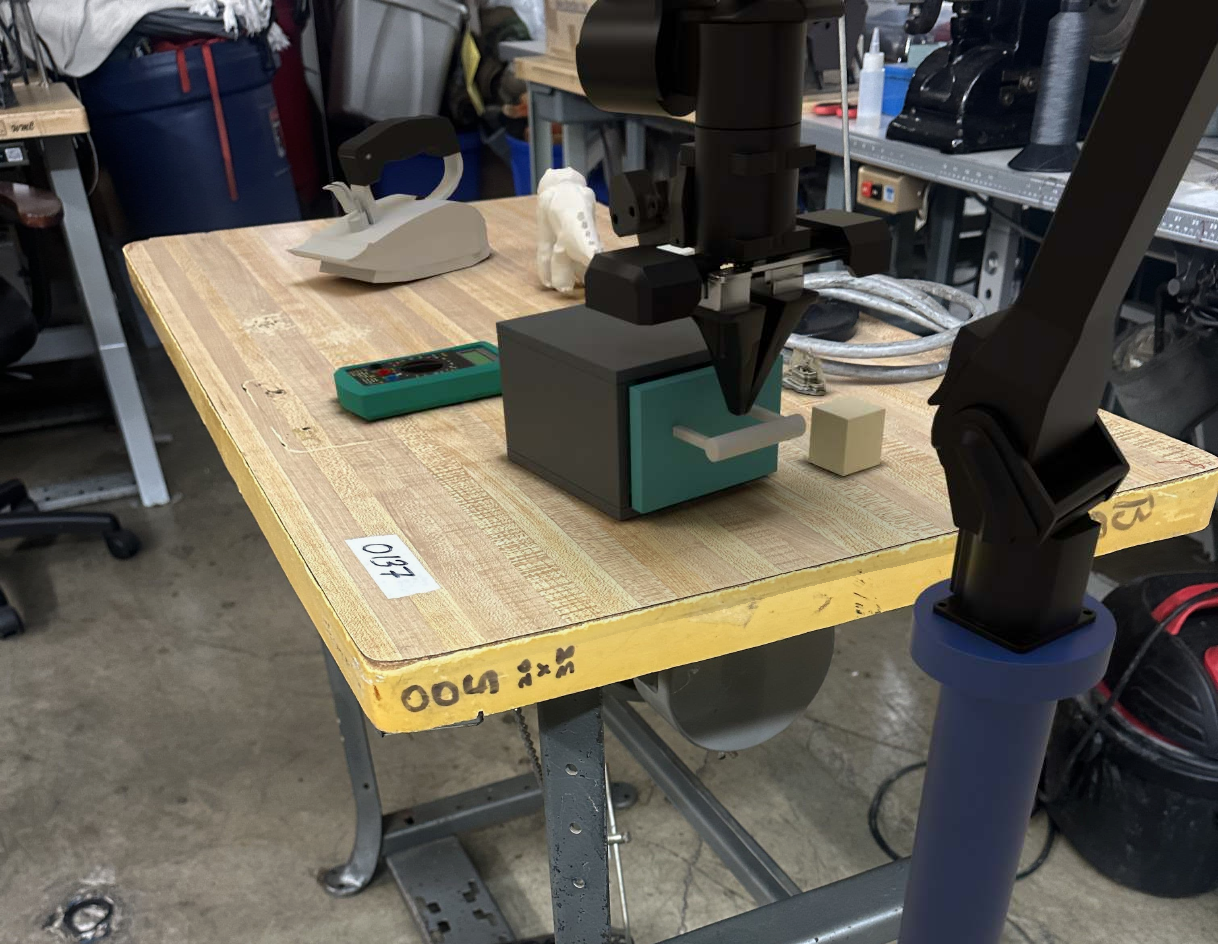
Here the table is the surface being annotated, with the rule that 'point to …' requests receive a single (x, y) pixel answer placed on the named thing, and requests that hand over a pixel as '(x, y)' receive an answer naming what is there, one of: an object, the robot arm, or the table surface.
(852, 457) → the block
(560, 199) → the toy dinosaur
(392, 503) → the table surface
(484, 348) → the digital multimeter
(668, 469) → the teal drawer
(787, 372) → the small metal piece
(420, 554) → the table surface
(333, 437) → the table surface
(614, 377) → the drawer cabinet
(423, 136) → the iron
